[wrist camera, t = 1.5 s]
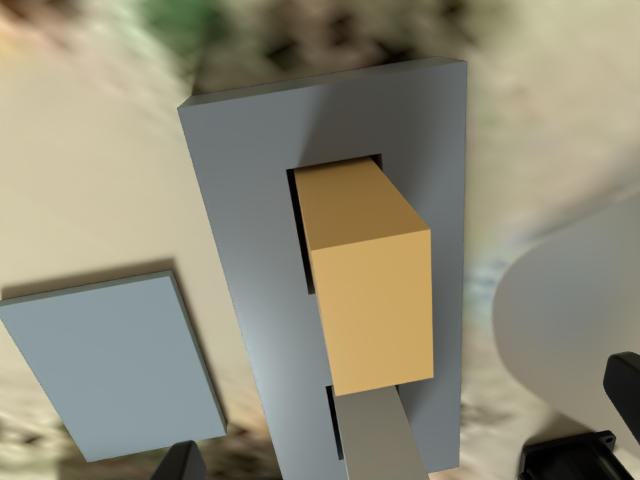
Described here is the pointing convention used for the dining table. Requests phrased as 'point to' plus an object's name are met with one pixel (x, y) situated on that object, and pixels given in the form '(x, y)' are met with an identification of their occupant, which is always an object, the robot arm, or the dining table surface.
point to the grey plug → (377, 436)
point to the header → (284, 247)
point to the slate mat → (118, 364)
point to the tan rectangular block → (367, 274)
